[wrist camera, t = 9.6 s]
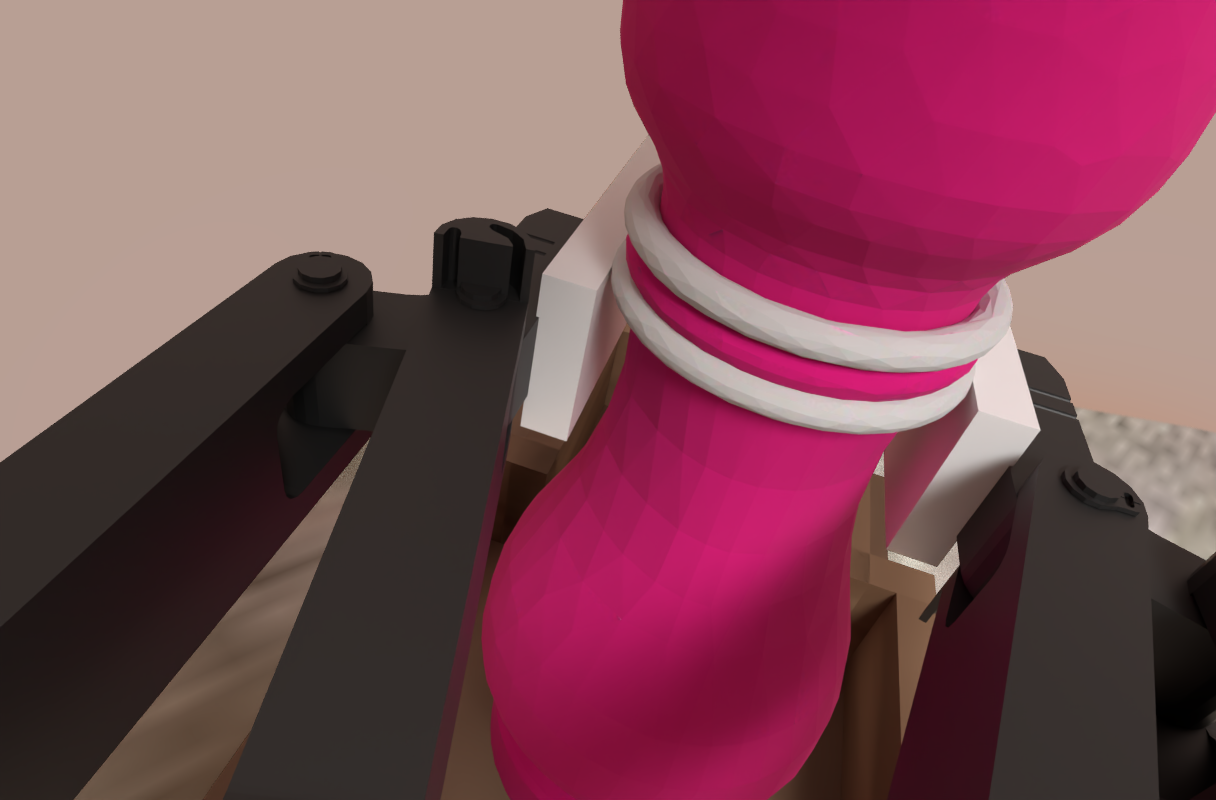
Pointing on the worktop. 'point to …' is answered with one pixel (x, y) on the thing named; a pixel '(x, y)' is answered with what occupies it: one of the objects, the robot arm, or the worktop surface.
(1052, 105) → the pepper mill
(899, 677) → the keyhole cradle
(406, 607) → the robot arm
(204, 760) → the worktop surface
